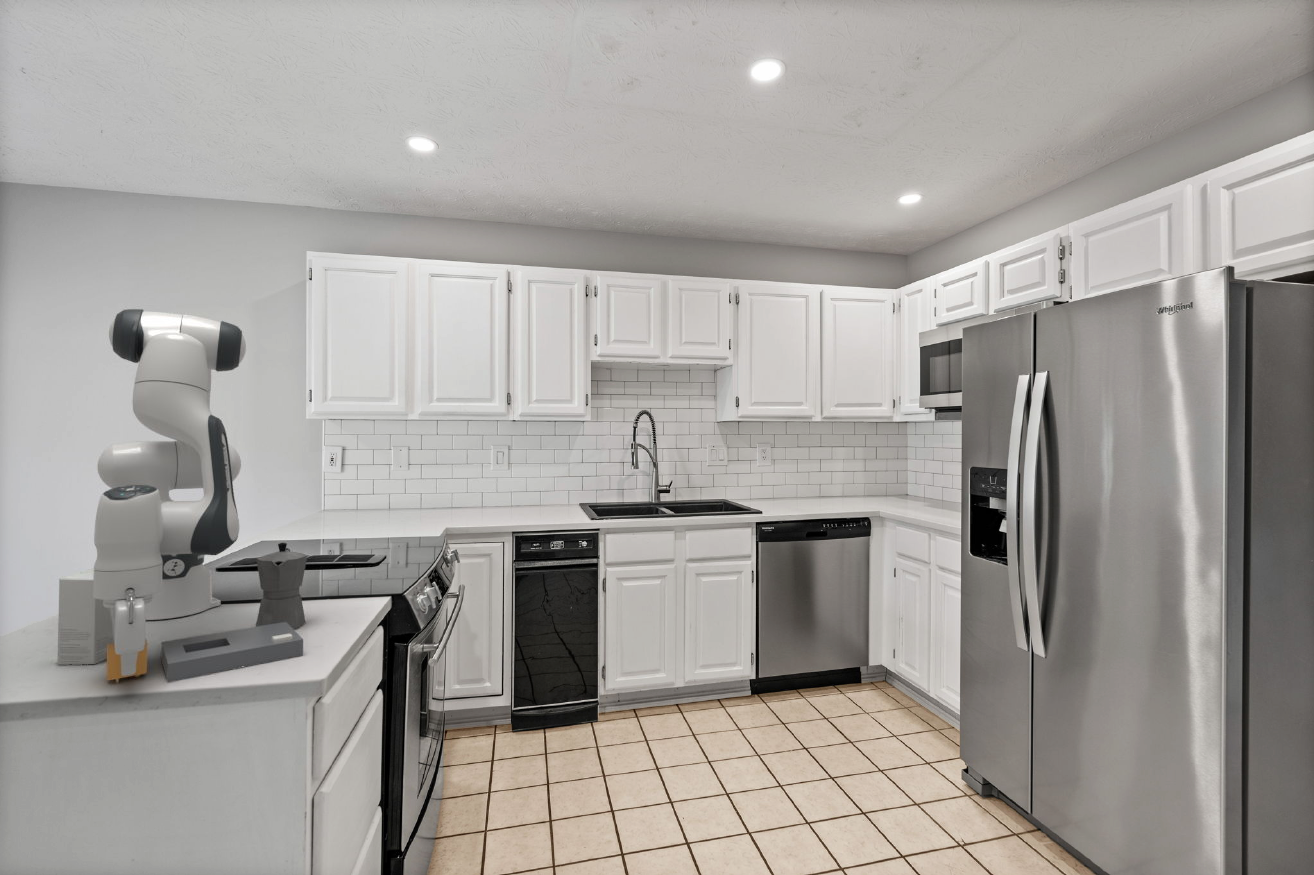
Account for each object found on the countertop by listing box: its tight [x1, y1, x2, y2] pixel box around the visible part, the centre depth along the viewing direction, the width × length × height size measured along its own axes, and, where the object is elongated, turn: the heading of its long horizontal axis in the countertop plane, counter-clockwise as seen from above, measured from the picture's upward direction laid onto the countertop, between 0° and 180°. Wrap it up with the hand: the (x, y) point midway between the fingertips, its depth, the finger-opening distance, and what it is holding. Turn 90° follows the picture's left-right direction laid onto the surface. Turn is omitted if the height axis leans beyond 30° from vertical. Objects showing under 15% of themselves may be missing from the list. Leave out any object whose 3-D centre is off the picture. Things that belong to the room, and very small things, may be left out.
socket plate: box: [160, 622, 304, 683], centre depth 115 cm, size 14×20×4 cm
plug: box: [106, 638, 148, 683], centre depth 104 cm, size 4×5×6 cm
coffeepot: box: [255, 542, 308, 630], centre depth 134 cm, size 15×9×18 cm, turn 25°
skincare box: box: [56, 568, 114, 666], centre depth 113 cm, size 8×7×16 cm
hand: (127, 665), depth 104 cm, fingers open, 8 cm apart
